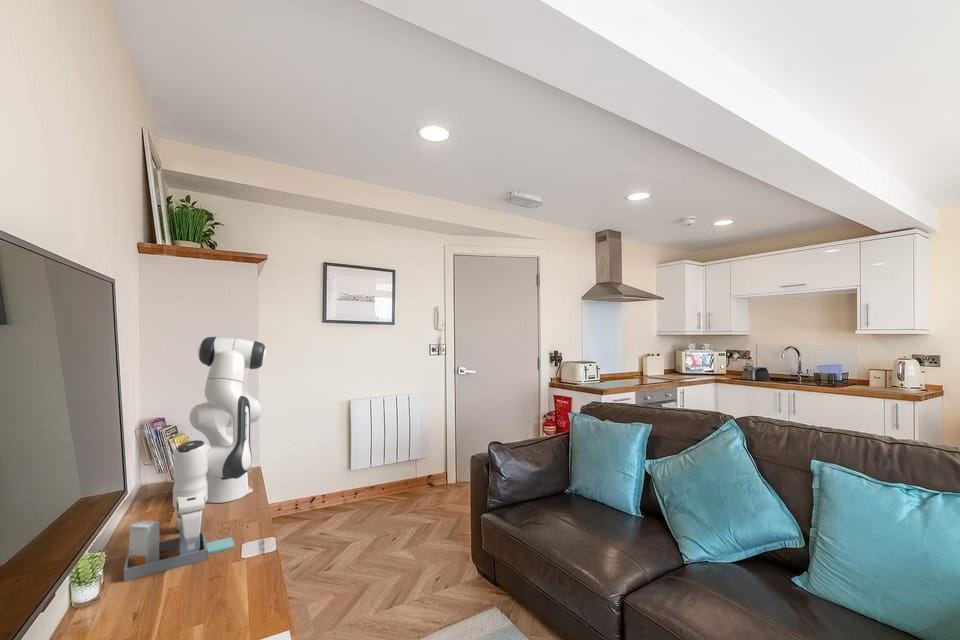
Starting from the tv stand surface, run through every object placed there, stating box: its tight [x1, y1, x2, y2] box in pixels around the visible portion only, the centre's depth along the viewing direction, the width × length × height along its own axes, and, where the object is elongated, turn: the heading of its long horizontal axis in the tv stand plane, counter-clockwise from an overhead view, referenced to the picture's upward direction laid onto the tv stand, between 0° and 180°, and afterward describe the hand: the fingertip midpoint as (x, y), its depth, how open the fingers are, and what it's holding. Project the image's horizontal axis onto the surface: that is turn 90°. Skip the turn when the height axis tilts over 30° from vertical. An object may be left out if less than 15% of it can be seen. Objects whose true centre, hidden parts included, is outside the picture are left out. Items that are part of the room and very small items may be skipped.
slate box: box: [179, 527, 201, 555], centre depth 134 cm, size 4×5×8 cm
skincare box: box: [128, 519, 161, 568], centre depth 127 cm, size 6×4×12 cm
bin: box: [123, 531, 208, 582], centre depth 131 cm, size 14×19×3 cm
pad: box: [206, 536, 235, 555], centre depth 138 cm, size 7×7×1 cm
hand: (190, 543), depth 134 cm, fingers open, 7 cm apart
